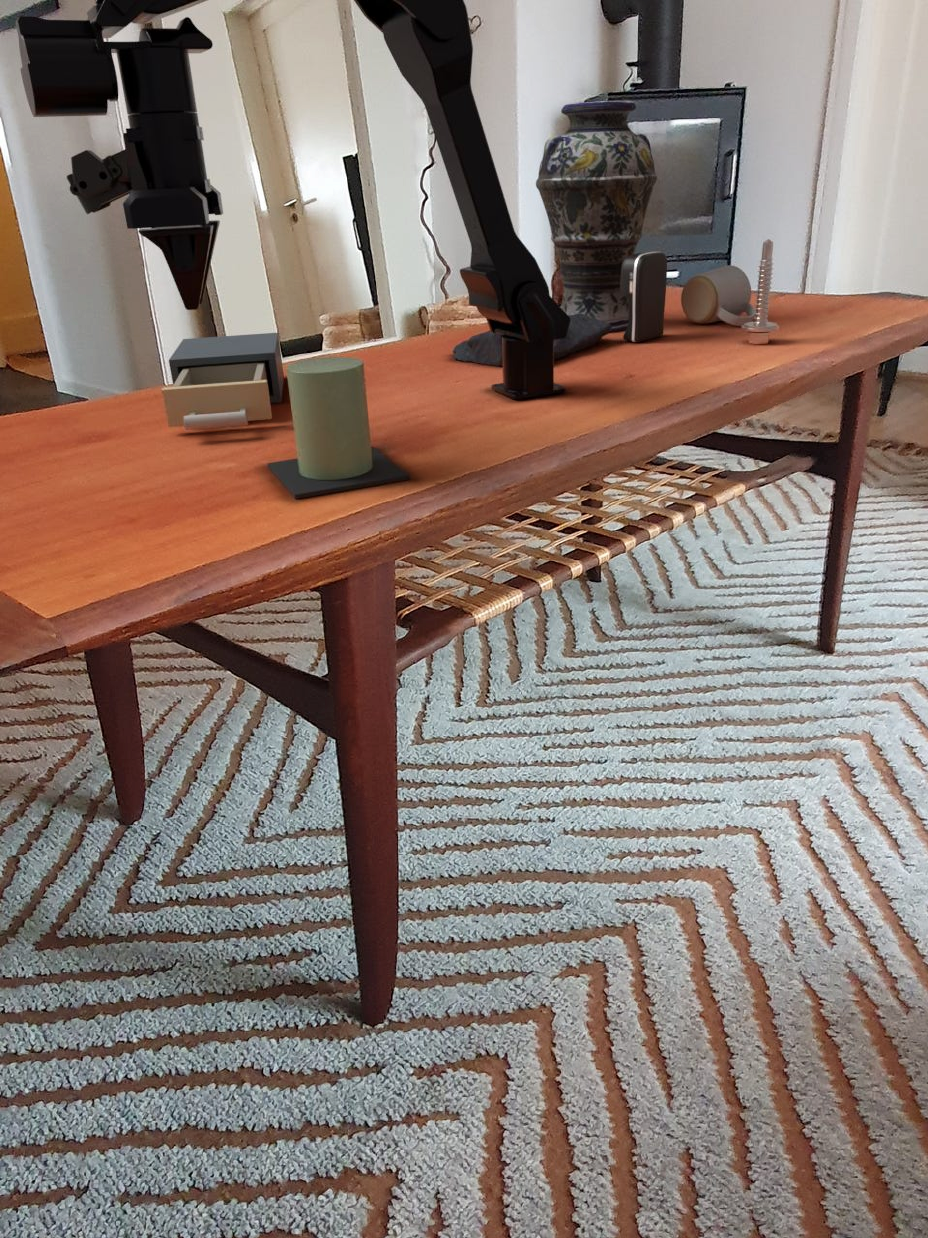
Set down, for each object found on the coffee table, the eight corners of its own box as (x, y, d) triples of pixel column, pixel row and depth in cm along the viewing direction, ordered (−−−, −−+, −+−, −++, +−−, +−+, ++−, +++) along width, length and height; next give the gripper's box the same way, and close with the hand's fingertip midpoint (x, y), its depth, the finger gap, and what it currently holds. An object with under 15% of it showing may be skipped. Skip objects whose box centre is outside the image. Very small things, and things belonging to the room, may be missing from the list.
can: (383, 459, 83) (374, 357, 79) (355, 482, 78) (345, 373, 74) (318, 456, 85) (306, 356, 81) (286, 478, 80) (272, 371, 76)
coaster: (410, 479, 79) (409, 474, 79) (295, 499, 76) (294, 494, 76) (372, 450, 88) (372, 446, 87) (267, 467, 84) (267, 463, 84)
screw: (738, 345, 125) (742, 338, 129) (776, 346, 123) (778, 339, 127) (747, 240, 119) (750, 237, 123) (787, 240, 117) (789, 236, 121)
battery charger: (642, 333, 136) (645, 249, 131) (665, 335, 133) (669, 250, 128) (614, 341, 131) (616, 254, 126) (637, 343, 129) (640, 255, 124)
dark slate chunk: (630, 343, 130) (631, 307, 127) (526, 371, 116) (526, 331, 114) (545, 333, 139) (545, 299, 137) (440, 358, 126) (438, 321, 123)
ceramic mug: (675, 322, 143) (678, 268, 139) (709, 315, 147) (714, 263, 143) (732, 331, 135) (737, 274, 132) (766, 323, 140) (772, 268, 136)
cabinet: (281, 402, 107) (274, 352, 104) (177, 410, 105) (168, 359, 103) (284, 377, 119) (278, 332, 116) (190, 384, 117) (183, 338, 115)
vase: (519, 324, 147) (515, 108, 134) (616, 313, 153) (622, 104, 139) (566, 340, 133) (567, 100, 120) (671, 328, 139) (683, 97, 125)
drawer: (270, 428, 93) (265, 390, 91) (163, 437, 92) (155, 398, 90) (275, 392, 107) (270, 358, 106) (183, 399, 106) (177, 365, 105)
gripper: (87, 122, 86) (121, 299, 93) (35, 113, 70) (82, 329, 77) (210, 117, 88) (235, 292, 95) (187, 107, 71) (220, 319, 78)
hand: (194, 306), depth 86 cm, fingers open, 3 cm apart
